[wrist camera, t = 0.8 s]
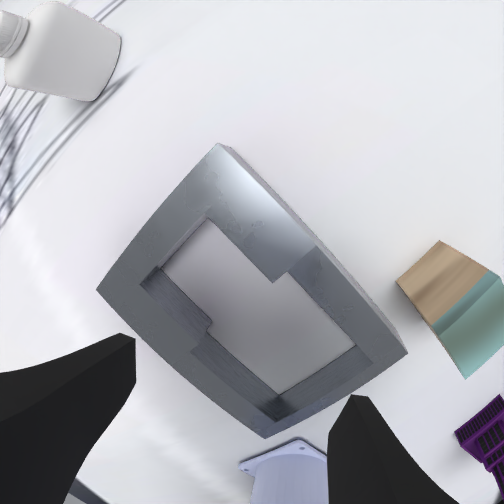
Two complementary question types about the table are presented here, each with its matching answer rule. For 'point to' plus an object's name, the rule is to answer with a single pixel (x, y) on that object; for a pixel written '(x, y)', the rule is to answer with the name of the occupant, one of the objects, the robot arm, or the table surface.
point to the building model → (486, 439)
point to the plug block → (458, 304)
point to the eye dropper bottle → (57, 51)
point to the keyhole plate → (272, 266)
